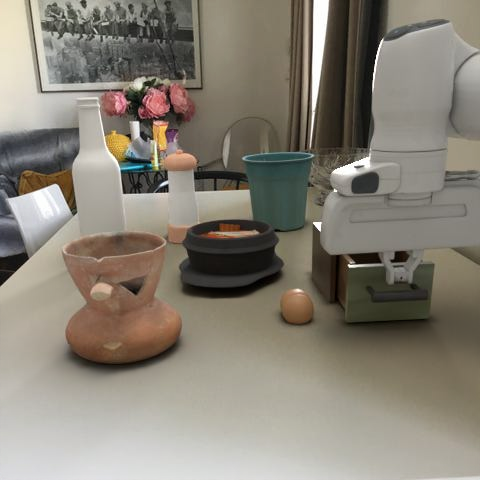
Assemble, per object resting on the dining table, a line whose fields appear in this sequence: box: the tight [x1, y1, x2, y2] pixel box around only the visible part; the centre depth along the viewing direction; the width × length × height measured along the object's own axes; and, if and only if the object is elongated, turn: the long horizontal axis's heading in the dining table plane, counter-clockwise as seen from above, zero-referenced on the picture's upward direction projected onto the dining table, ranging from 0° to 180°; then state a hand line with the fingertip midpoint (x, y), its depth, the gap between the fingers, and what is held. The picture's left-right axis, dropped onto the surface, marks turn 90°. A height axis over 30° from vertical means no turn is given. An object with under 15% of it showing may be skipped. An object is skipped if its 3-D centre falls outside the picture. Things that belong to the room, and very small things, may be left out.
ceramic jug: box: [61, 230, 183, 365], centre depth 71 cm, size 18×14×14 cm
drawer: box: [335, 251, 436, 323], centre depth 80 cm, size 18×11×8 cm, turn 4°
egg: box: [279, 288, 315, 325], centre depth 79 cm, size 6×4×4 cm
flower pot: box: [241, 151, 315, 232], centre depth 132 cm, size 16×16×16 cm
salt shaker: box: [162, 149, 201, 244], centre depth 122 cm, size 7×7×19 cm
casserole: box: [178, 218, 285, 289], centre depth 99 cm, size 25×19×8 cm
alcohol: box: [71, 96, 128, 237], centre depth 106 cm, size 9×9×30 cm
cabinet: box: [311, 221, 341, 304], centre depth 90 cm, size 15×13×10 cm
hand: (398, 282), depth 73 cm, fingers closed
